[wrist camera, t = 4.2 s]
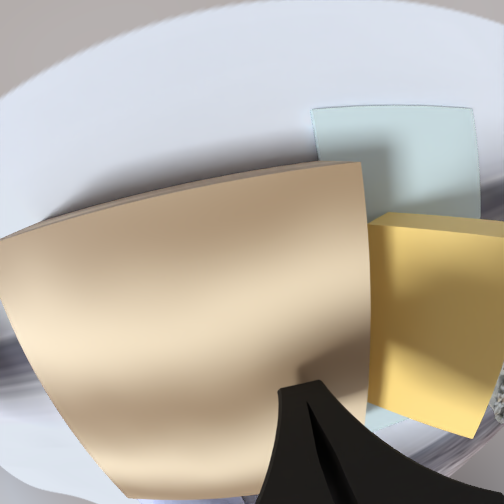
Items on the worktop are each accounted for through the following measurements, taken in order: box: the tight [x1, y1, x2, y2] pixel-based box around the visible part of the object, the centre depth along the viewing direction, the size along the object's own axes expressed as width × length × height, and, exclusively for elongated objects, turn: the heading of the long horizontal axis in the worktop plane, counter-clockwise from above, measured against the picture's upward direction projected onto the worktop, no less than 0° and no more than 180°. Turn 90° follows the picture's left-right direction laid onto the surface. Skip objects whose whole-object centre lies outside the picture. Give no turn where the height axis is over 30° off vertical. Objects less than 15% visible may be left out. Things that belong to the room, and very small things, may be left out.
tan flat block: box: [0, 161, 371, 500], centre depth 11 cm, size 14×12×4 cm
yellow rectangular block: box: [367, 212, 504, 439], centre depth 10 cm, size 9×6×2 cm
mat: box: [310, 106, 481, 432], centre depth 14 cm, size 18×8×1 cm, turn 10°
